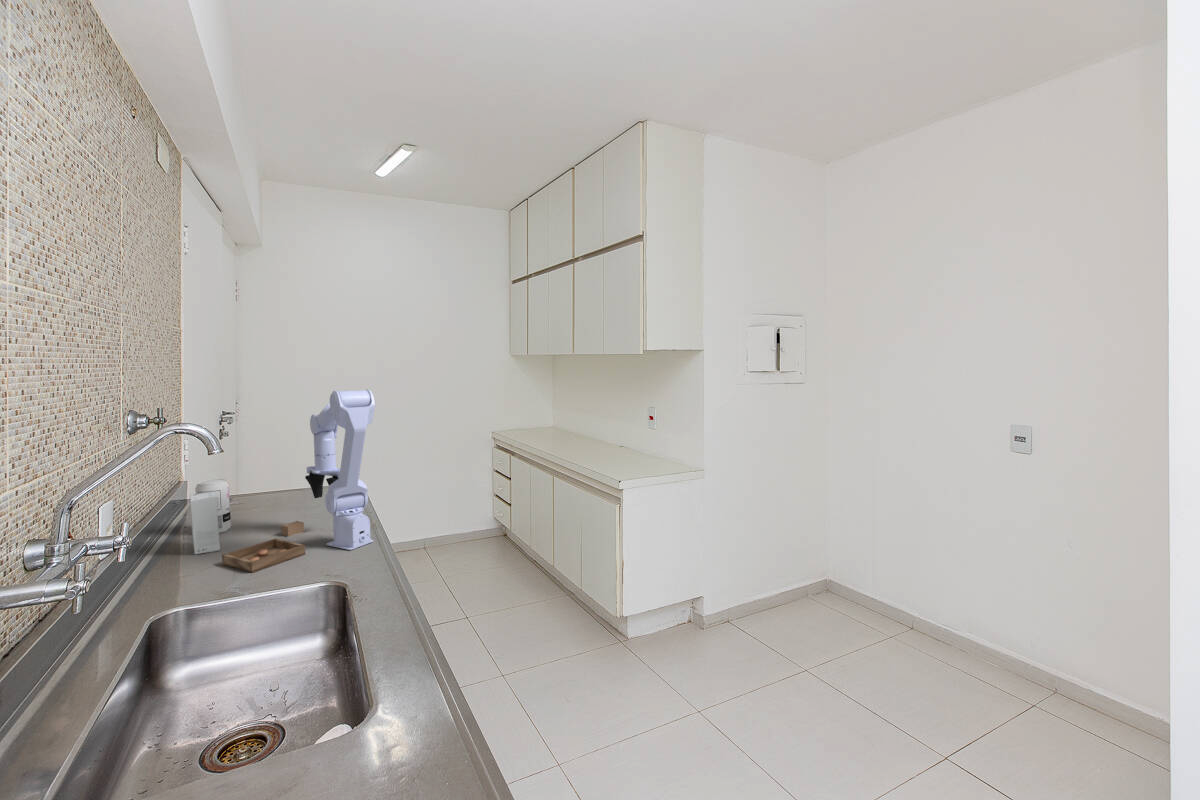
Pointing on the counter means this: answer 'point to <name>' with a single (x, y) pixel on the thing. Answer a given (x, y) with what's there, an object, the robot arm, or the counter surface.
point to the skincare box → (204, 522)
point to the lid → (292, 528)
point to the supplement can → (218, 500)
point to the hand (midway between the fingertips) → (326, 498)
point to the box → (263, 555)
